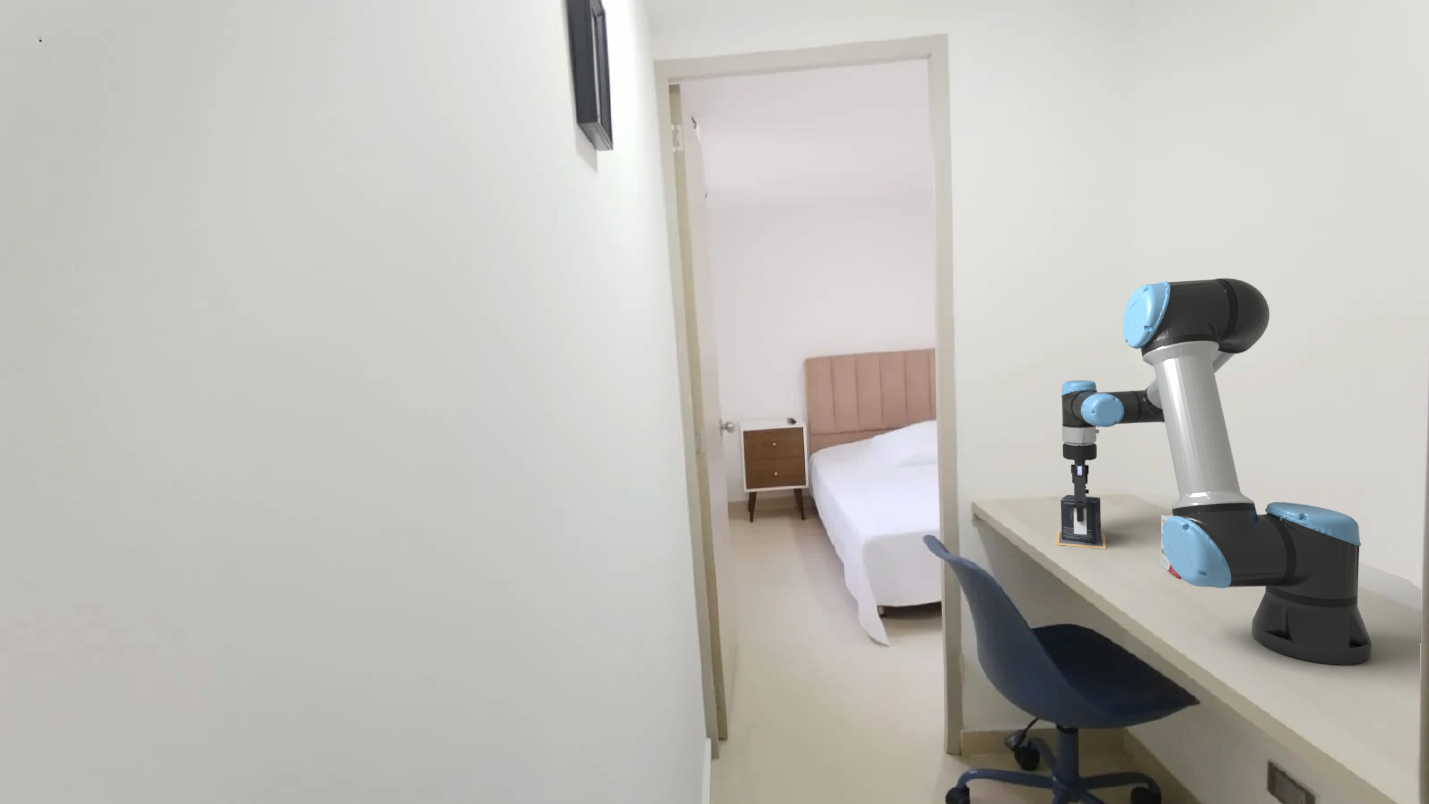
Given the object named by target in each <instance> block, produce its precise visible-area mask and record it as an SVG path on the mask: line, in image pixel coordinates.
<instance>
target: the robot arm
mask: <svg viewBox="0 0 1429 804" xmlns="http://www.w3.org/2000/svg"><path fill="white" fill-rule="evenodd" d="M1126 303H1127V304H1126V307H1125V309H1124V314H1123V319H1122V335H1123V338H1124V340H1125V342H1126V343H1127V346H1129V347H1130V348H1133V349H1134V350H1139V349H1140V352H1141V356H1142V361H1143V362H1144V363H1146V364H1148V365H1149V366H1151V367H1153V369H1154V373H1155V379H1154V380H1153V381H1152V382H1151V383H1150V384H1149V385H1148V386H1147V387H1146V389H1143V390H1142V389H1141V390H1140V389H1138V390H1127V391H1126V390H1125V391H1124V390H1123V391H1106V392H1105V391H1104V392H1101V391H1098V389H1097V384H1096V382H1095V381H1093V380H1084V379H1083V380H1081V379H1079V380H1078V379H1077V380H1067V381H1065V382H1063V383H1062V388H1061V396H1060V397H1061V412H1062V413H1061V415H1062V418H1061V419H1062V425H1061V431H1062V433H1061V434H1062V438H1061V441H1062V442H1064V443H1062V457H1063V458H1064V459H1066V460H1069V461H1071V460H1073V461H1074V464H1072V463H1071V464H1070V474H1071V483H1072V484H1074V485H1073V495H1074V504H1071V508H1074V534H1085V535H1087V521H1086V496H1087V495H1089V494H1090V489H1087V484H1088V482H1089V479H1088V478H1089V477H1088V475H1089V473H1090V467H1089V466H1090V465H1089V464H1086V461H1092V460H1093V461H1094V460H1096V459H1097V457H1098V447H1097V444H1096V441H1097V434H1100V429H1097V428H1099V427H1102V428H1110V427H1113V426H1115V425H1121V424H1122V425H1125V424H1127V425H1128V424H1141V423H1143V424H1144V423H1146V424H1147V423H1164V424H1165V428H1166V433H1167V434H1166V435H1167V439H1168V443H1169V449H1170V453H1171V458H1172V464H1173V468H1174V474H1175V479H1176V485H1177V489H1178V494H1179V497H1178V499H1177V500H1176V502H1175V503H1174V504H1173V505H1172V507H1171V511H1172V515H1173V517H1171V518H1169V519H1167V520H1166V521H1165V522H1164V524H1163V528H1162V530H1163V533H1162V542H1163V547H1164V550H1165V553H1166V556H1167V558H1168V560H1169V562H1170V564H1171V566H1172V567H1173V569H1174V570H1175V571H1176V572H1177V573H1178V575H1179V576H1180V577H1181V578H1182V580H1183V581H1185V582H1186V583H1188V584H1190V585H1192V586H1195V587H1200V588H1216V589H1225V588H1227V589H1228V588H1243V587H1245V588H1246V587H1247V588H1249V587H1251V588H1252V587H1265V590H1264V595H1263V597H1262V599H1261V601H1260V603H1259V606H1258V607H1257V609H1256V612H1255V614H1254V616H1253V618H1252V621H1251V635H1252V637H1253V639H1254V640H1255V641H1256V642H1257V643H1259V644H1261V645H1262V646H1264V647H1265V648H1268V649H1270V650H1272V651H1275V652H1277V653H1279V654H1282V655H1285V656H1289V657H1292V658H1296V659H1300V660H1304V661H1309V662H1313V663H1320V664H1327V665H1329V664H1330V665H1356V664H1361V663H1364V662H1366V661H1368V660H1369V659H1371V657H1372V640H1371V638H1370V635H1369V633H1368V630H1367V627H1366V624H1365V622H1364V620H1363V617H1362V615H1361V612H1360V610H1359V607H1358V602H1359V601H1358V597H1359V596H1358V594H1359V593H1358V592H1359V569H1360V567H1359V565H1360V564H1359V562H1360V561H1359V559H1360V547H1361V546H1362V543H1361V540H1360V539H1361V538H1360V527H1359V524H1358V522H1357V521H1356V520H1355V519H1354V518H1353V517H1351V516H1350V515H1348V514H1346V513H1343V512H1339V511H1337V510H1332V509H1329V508H1324V507H1320V506H1315V505H1309V504H1304V503H1303V504H1302V503H1294V502H1283V501H1278V502H1277V501H1274V502H1271V503H1268V504H1267V505H1266V508H1264V509H1265V512H1266V514H1258V513H1257V509H1256V504H1255V501H1254V500H1252V499H1251V498H1249V497H1248V496H1246V495H1245V494H1243V492H1241V488H1240V484H1239V483H1240V482H1239V479H1238V478H1239V477H1238V474H1237V470H1236V466H1235V462H1234V461H1235V460H1234V456H1233V452H1232V447H1231V444H1230V438H1229V434H1228V429H1227V425H1226V420H1225V416H1224V411H1223V407H1222V402H1221V398H1220V397H1221V396H1220V393H1219V389H1218V384H1217V380H1216V375H1215V374H1216V373H1217V372H1218V371H1219V370H1220V369H1221V368H1222V367H1223V366H1224V365H1225V364H1226V363H1228V362H1229V360H1230V359H1232V357H1233V356H1234V355H1238V354H1242V353H1245V352H1246V351H1248V350H1249V349H1251V348H1252V347H1253V346H1254V345H1255V344H1256V343H1257V342H1258V341H1259V340H1260V339H1261V338H1262V336H1263V335H1264V334H1265V332H1266V330H1267V328H1268V325H1269V320H1270V308H1269V307H1270V306H1269V305H1268V301H1267V299H1266V298H1265V296H1264V295H1263V293H1262V292H1261V291H1260V290H1259V289H1258V288H1256V287H1255V285H1252V284H1250V283H1249V282H1247V281H1244V280H1241V279H1236V278H1229V277H1228V278H1227V277H1223V278H1220V277H1219V278H1215V279H1199V280H1197V279H1196V280H1185V281H1184V280H1182V281H1167V280H1166V281H1161V282H1156V283H1149V284H1144V285H1141V286H1140V287H1138V288H1137V289H1135V290H1134V291H1133V293H1132V294H1131V295H1130V297H1129V299H1128V300H1127V302H1126ZM1080 502H1083V503H1080Z"/></svg>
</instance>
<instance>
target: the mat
mask: <svg viewBox="0 0 1429 804" xmlns="http://www.w3.org/2000/svg"><path fill="white" fill-rule="evenodd" d="M1055 538H1056V539H1055V546H1060V545H1066V546H1065V547H1073V546H1075V548H1086V549H1087V548H1088V549H1098V550H1099V549H1101V550H1102V549H1103V550H1106V549H1107V541H1106V534H1104V533H1101V539H1099V541H1098V542H1097V543H1088V542H1080V541H1072V540H1064V539H1062V530H1056V537H1055Z"/></svg>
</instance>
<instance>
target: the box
mask: <svg viewBox="0 0 1429 804" xmlns="http://www.w3.org/2000/svg"><path fill="white" fill-rule="evenodd" d="M1080 503H1083V502H1080ZM1071 504H1074V494H1066V495H1065V496H1064V497H1062V498H1061V499H1060V519H1061V525H1060V526H1061V527H1060V528H1061V531H1062V539H1064V540H1072V541H1080V542H1088V543H1097V542H1098V541H1099V539H1101V534H1102V520H1101V519H1102V518H1101V513H1102V512H1101V497H1095V496H1087V495H1086V521H1087V535H1085V534H1074V508H1071Z"/></svg>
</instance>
